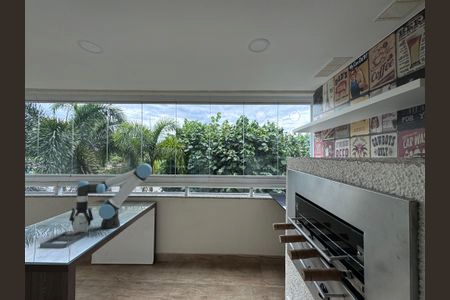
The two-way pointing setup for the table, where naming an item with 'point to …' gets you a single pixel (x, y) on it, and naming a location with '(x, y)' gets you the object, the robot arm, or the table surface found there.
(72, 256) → the table surface
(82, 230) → the supplement box
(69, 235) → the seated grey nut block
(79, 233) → the grey flat rectangular frame
